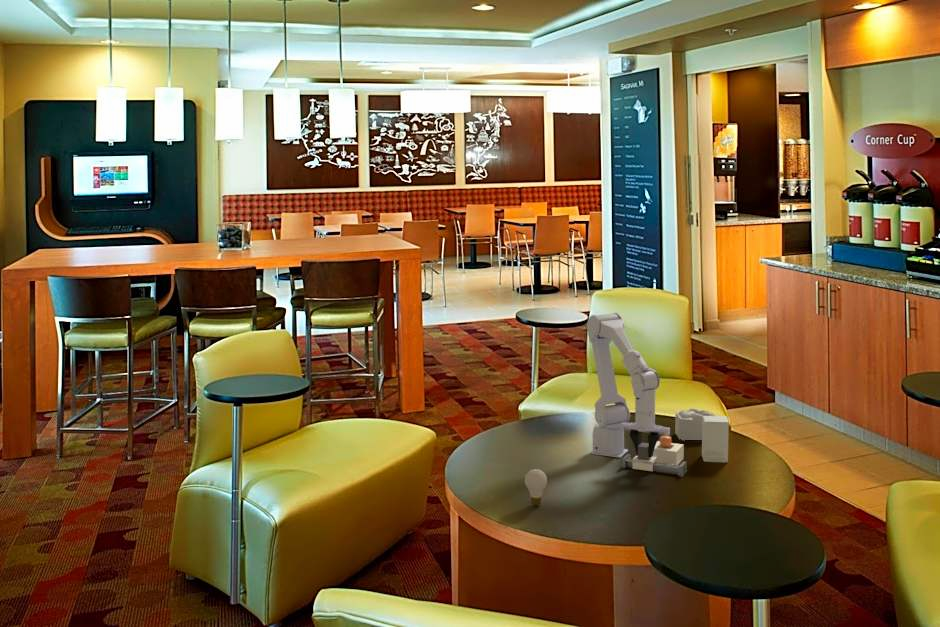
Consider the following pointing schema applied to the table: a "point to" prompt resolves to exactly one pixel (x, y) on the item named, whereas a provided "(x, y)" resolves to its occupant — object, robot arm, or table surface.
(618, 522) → the table surface
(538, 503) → the light bulb
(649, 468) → the carriage
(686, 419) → the lumpy-topped squat cylinder
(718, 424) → the supplement box
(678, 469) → the rail
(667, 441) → the plunger
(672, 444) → the white hollow block
